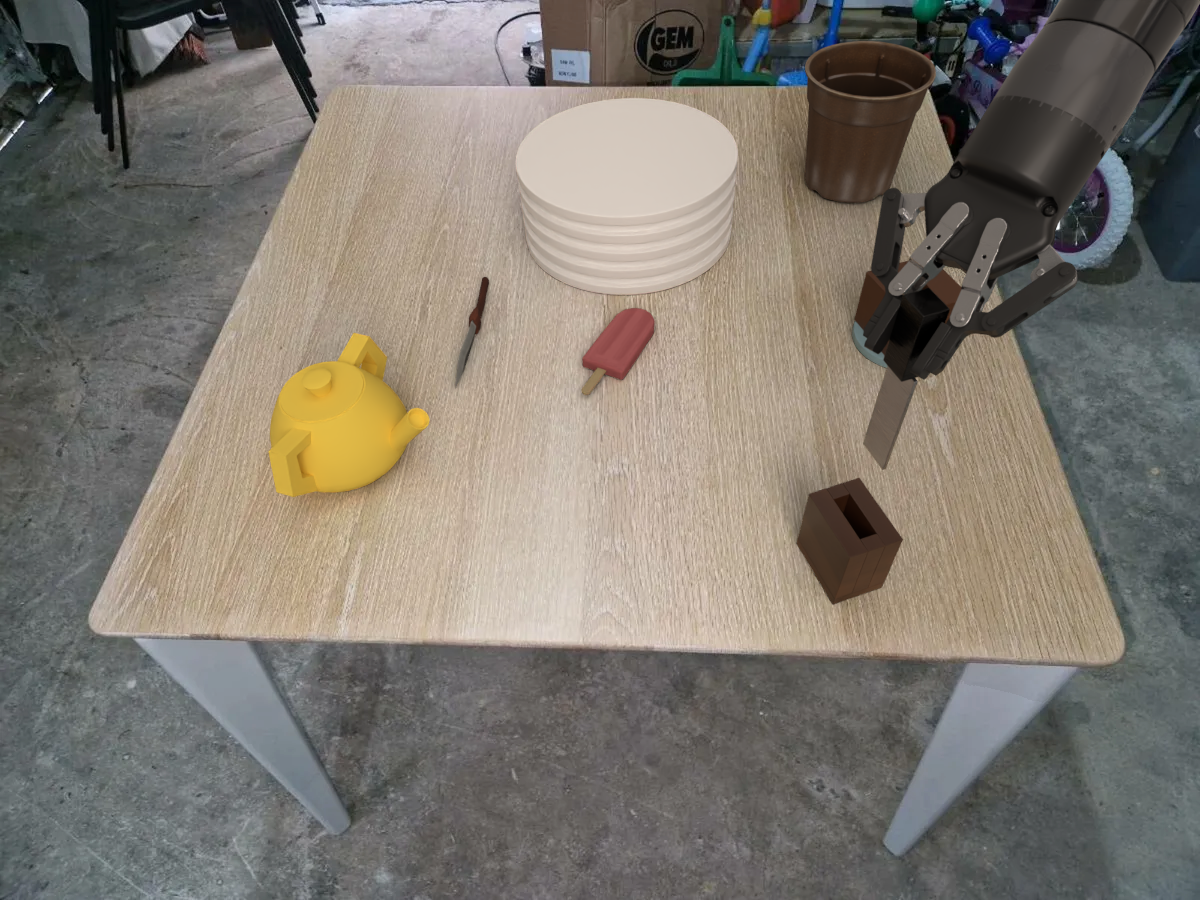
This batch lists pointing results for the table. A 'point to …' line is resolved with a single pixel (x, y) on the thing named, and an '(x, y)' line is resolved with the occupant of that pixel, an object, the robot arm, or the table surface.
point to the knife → (472, 329)
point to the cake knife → (902, 369)
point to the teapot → (339, 424)
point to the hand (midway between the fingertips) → (895, 362)
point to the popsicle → (618, 346)
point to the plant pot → (861, 115)
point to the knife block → (847, 540)
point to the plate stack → (627, 194)
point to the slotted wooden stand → (873, 296)
